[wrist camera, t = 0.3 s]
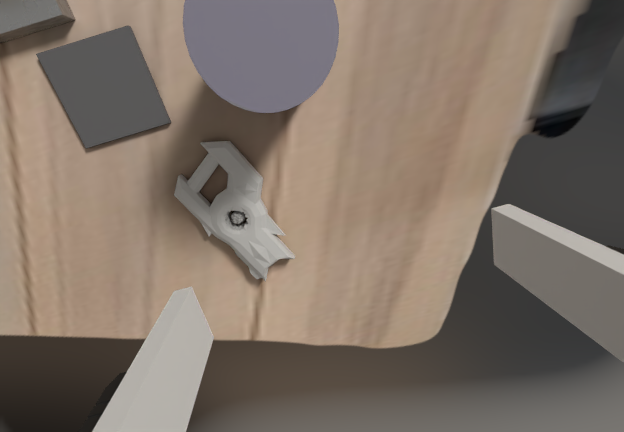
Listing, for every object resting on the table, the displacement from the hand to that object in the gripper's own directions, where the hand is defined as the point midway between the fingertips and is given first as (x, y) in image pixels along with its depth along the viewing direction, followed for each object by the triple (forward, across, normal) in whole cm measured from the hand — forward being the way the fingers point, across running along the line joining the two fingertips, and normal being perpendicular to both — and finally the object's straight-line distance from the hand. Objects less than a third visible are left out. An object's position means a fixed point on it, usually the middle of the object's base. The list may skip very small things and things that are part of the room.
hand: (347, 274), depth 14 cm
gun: (+28, -9, -4) cm, 30 cm away
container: (+28, -1, +12) cm, 30 cm away
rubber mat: (+27, -19, +13) cm, 36 cm away
